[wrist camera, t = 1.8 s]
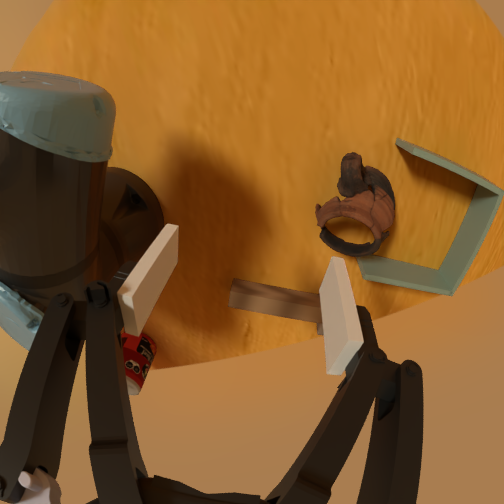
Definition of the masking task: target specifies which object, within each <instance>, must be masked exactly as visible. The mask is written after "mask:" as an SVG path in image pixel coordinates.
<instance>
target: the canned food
mask: <svg viewBox="0 0 504 504" xmlns="http://www.w3.org/2000/svg"><path fill="white" fill-rule="evenodd" d="M121 337H122V348H123V357H124V366H125V374H126V381H127V388H128V394H129V395H138V394H139V392H140V391H141V388H142V386H143V384H144V381H145V379H146V376H147V373H148V371H149V368H150V366H151V364H152V361H153V359H154V356H155V354H156V345H155V343H154V341H153V340H152V339H151V338H150V337H148V336H147V335H145V334H144V333H142V332H141V333H140V335H139V337H138V336H134V335H131V334H128V333H125V332H124V333H122V335H121Z"/></svg>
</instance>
